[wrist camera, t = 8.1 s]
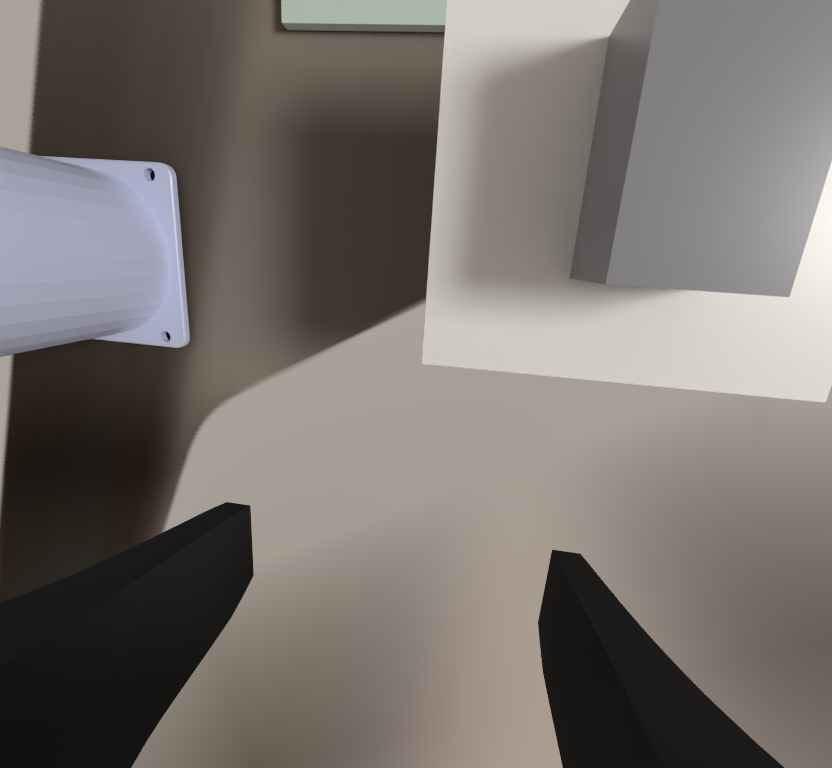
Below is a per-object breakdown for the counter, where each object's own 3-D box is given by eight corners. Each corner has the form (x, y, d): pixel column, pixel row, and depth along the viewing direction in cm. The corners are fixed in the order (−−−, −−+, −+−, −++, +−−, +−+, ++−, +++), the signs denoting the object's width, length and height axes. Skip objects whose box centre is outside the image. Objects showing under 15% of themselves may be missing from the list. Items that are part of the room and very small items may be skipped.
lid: (424, 359, 12) (403, 397, 9) (456, -88, 9) (443, -298, 6) (807, 395, 11) (960, 455, 7) (978, -101, 8) (1352, -373, 5)
